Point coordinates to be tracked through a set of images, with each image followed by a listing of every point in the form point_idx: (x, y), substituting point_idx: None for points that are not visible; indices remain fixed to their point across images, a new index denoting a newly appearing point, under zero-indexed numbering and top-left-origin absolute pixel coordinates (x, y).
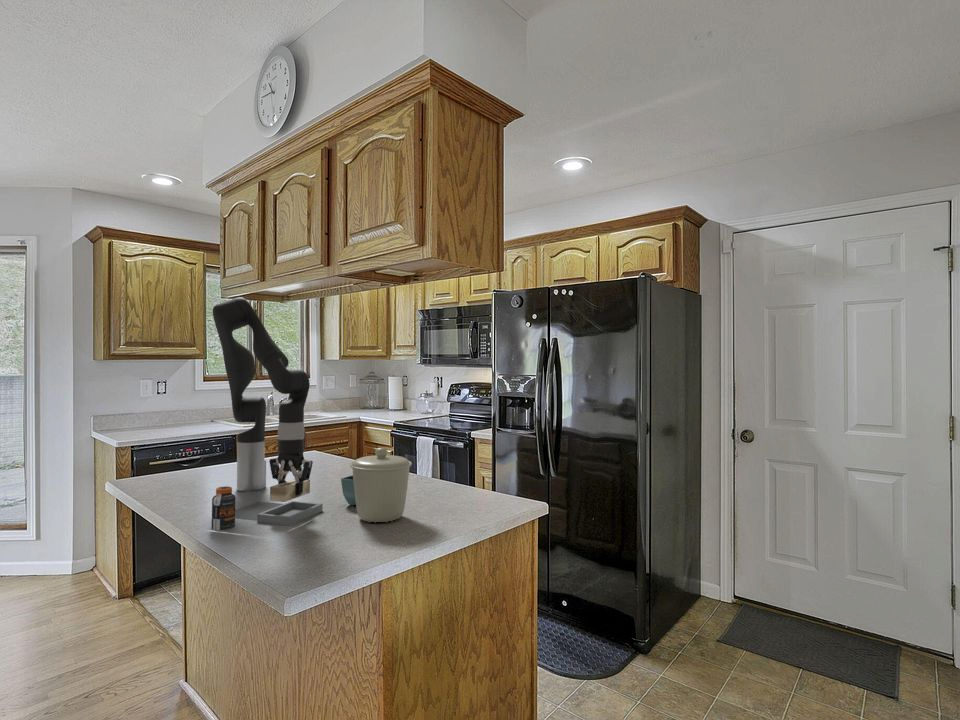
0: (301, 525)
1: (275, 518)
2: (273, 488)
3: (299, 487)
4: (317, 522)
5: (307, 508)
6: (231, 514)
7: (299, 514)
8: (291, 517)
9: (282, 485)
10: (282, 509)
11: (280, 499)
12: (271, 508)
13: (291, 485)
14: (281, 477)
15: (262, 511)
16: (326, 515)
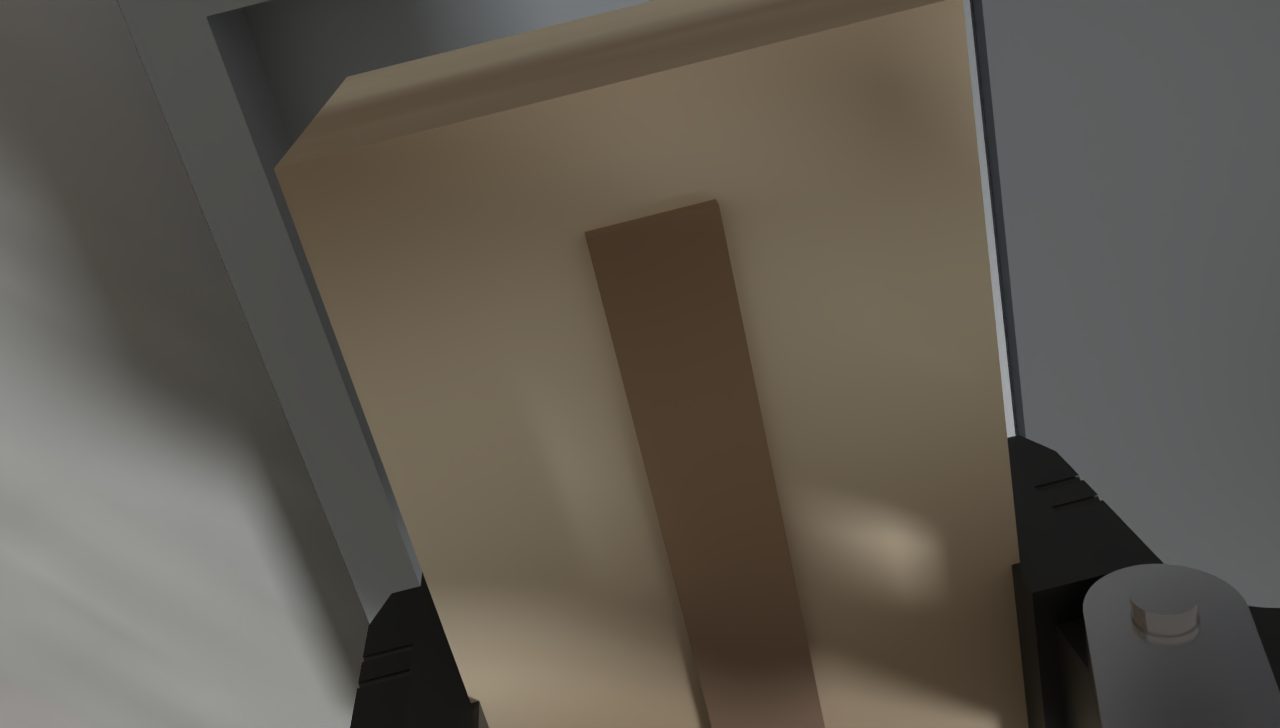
0: (92, 142)
1: None
2: (785, 30)
3: (374, 707)
4: (43, 405)
5: None
6: None
7: (231, 271)
8: (124, 13)
9: (667, 362)
10: None
11: (471, 50)
12: (1258, 445)
13: (471, 571)
14: (1093, 690)
15: (1275, 259)
16: (281, 699)
